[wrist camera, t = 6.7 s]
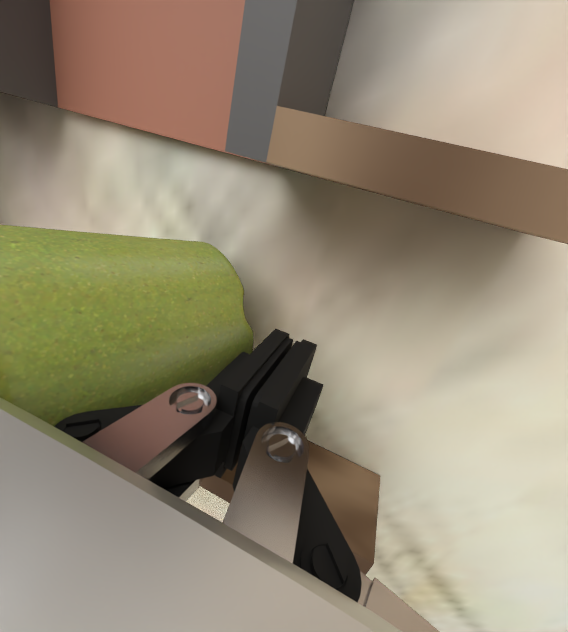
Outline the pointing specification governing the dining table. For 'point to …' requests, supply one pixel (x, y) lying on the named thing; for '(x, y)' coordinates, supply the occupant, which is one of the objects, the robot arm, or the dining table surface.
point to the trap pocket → (176, 63)
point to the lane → (419, 188)
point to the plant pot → (111, 319)
